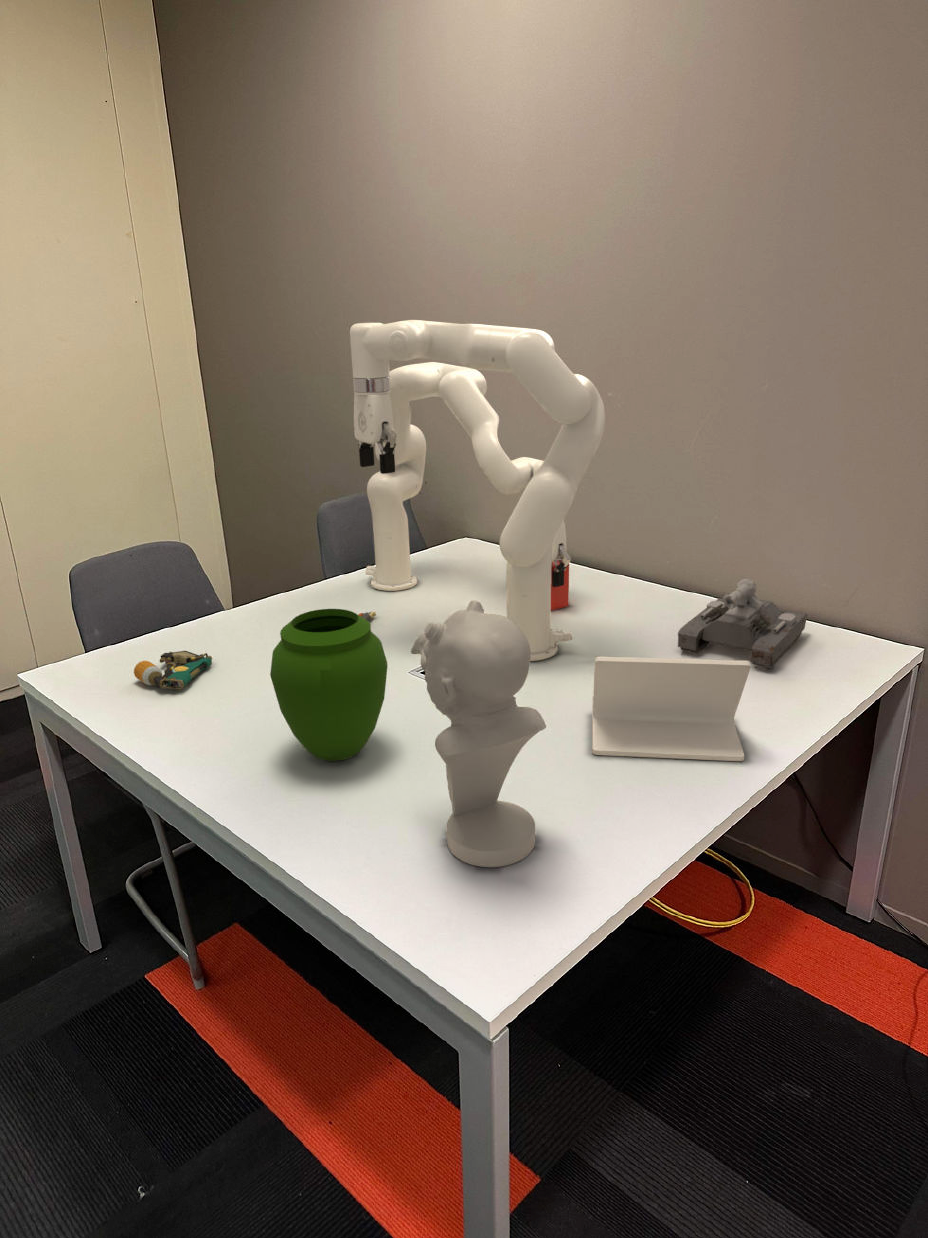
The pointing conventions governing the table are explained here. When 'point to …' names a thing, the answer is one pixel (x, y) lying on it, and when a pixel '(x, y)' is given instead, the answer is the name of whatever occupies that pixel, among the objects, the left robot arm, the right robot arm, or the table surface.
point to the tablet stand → (667, 707)
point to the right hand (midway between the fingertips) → (377, 469)
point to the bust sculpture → (481, 729)
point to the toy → (744, 626)
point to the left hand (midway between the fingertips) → (548, 581)
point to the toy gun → (367, 615)
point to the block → (560, 591)
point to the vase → (330, 681)
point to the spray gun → (172, 669)
